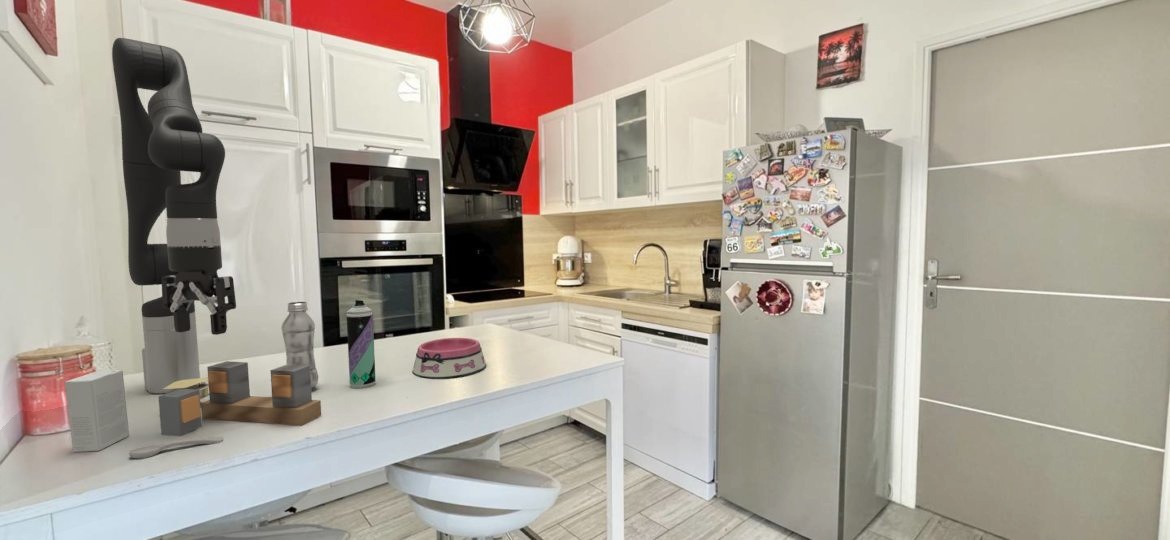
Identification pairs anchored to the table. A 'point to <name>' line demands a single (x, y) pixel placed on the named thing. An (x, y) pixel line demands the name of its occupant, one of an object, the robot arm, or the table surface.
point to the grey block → (180, 412)
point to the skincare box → (97, 410)
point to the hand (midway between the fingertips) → (201, 332)
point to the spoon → (155, 449)
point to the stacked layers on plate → (191, 386)
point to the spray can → (361, 345)
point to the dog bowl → (448, 358)
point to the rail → (236, 403)
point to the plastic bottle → (300, 338)
